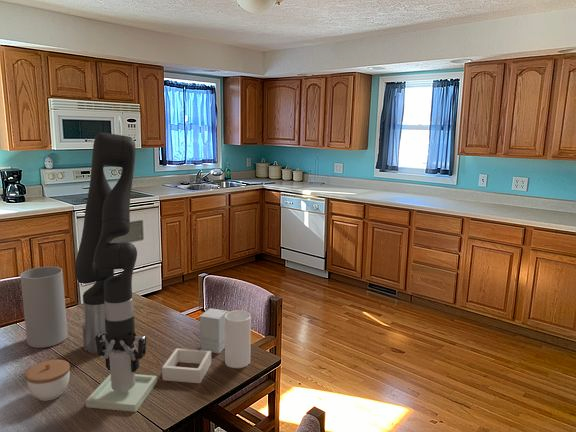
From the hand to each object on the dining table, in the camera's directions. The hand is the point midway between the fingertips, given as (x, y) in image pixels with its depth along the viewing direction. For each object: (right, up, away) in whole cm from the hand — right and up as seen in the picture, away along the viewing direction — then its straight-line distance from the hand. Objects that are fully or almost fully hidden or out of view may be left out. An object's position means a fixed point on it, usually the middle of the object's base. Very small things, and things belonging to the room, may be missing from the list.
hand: (122, 369), depth 121 cm
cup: (+30, -5, +20) cm, 36 cm away
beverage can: (0, -5, +1) cm, 5 cm away
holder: (+15, -5, +14) cm, 21 cm away
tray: (0, -7, +1) cm, 7 cm away
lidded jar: (-21, -7, +1) cm, 22 cm away
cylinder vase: (-38, -1, +31) cm, 49 cm away
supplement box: (+21, -3, +29) cm, 36 cm away
